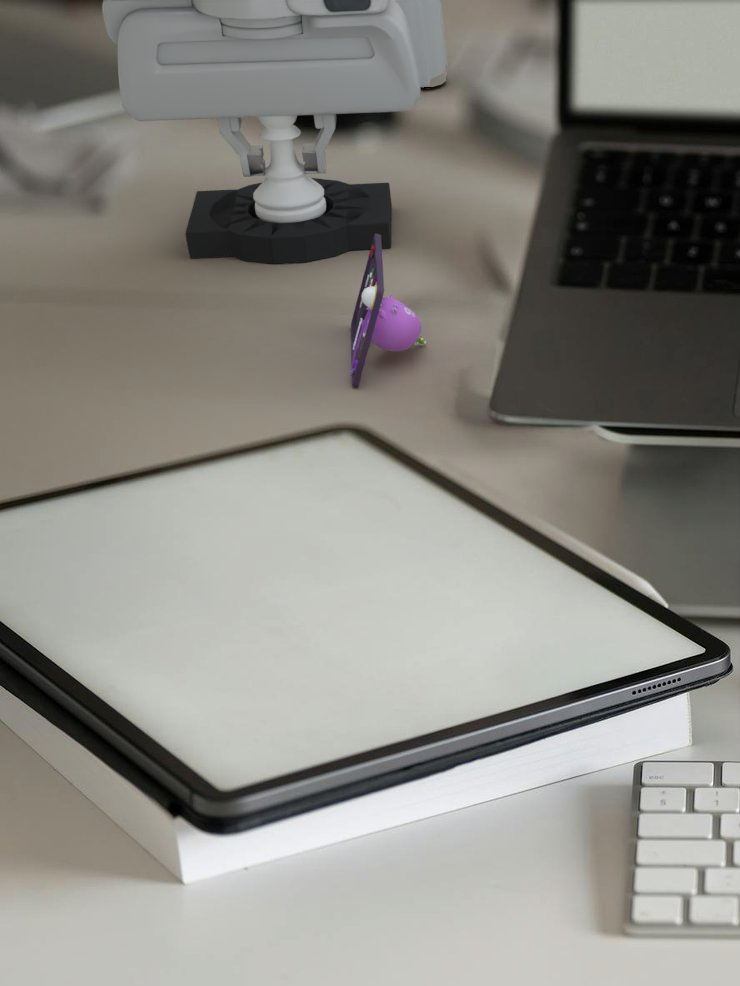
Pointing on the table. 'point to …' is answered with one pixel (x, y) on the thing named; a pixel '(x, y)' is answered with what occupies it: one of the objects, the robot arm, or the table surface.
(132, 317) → the table surface
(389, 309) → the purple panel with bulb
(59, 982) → the table surface
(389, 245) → the socket pad
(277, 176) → the chess pawn
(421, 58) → the photo printer
